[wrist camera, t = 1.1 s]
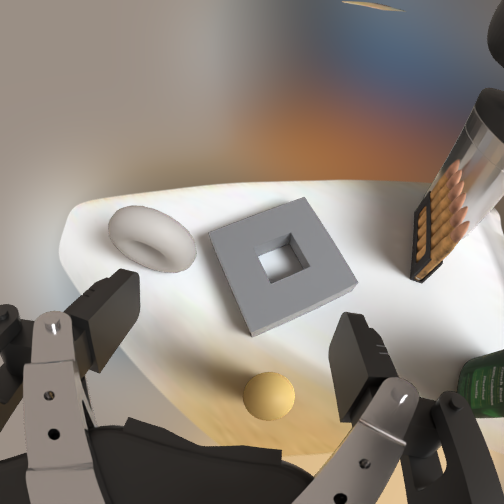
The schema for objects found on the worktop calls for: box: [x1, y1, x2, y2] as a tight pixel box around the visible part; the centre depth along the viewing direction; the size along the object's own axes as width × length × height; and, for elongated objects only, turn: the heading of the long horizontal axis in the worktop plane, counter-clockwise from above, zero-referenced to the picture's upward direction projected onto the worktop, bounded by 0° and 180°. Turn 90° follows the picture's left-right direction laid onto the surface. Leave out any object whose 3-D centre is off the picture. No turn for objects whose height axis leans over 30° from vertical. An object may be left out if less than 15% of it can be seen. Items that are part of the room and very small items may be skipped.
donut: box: [108, 206, 197, 273], centre depth 28 cm, size 10×4×10 cm, turn 76°
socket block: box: [209, 197, 358, 337], centre depth 31 cm, size 12×12×2 cm
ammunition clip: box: [410, 159, 470, 283], centre depth 27 cm, size 11×2×12 cm, turn 160°
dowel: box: [243, 372, 295, 421], centre depth 20 cm, size 3×3×12 cm
